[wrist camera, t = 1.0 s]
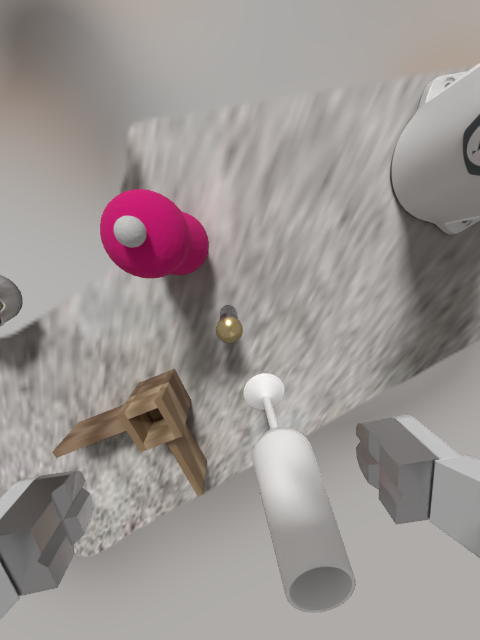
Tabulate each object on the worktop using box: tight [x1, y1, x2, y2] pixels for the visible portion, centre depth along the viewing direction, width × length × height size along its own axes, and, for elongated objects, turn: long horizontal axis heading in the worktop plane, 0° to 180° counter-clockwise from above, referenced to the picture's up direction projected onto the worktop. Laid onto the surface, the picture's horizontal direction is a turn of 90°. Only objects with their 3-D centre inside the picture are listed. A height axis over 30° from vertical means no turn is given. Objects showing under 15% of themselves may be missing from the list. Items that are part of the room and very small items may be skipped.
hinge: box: [53, 369, 207, 496], centre depth 36 cm, size 18×18×8 cm
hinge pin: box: [216, 305, 243, 343], centre depth 31 cm, size 3×3×8 cm
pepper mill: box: [100, 189, 209, 278], centre depth 23 cm, size 7×7×20 cm
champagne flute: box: [244, 373, 355, 612], centre depth 28 cm, size 7×7×24 cm
